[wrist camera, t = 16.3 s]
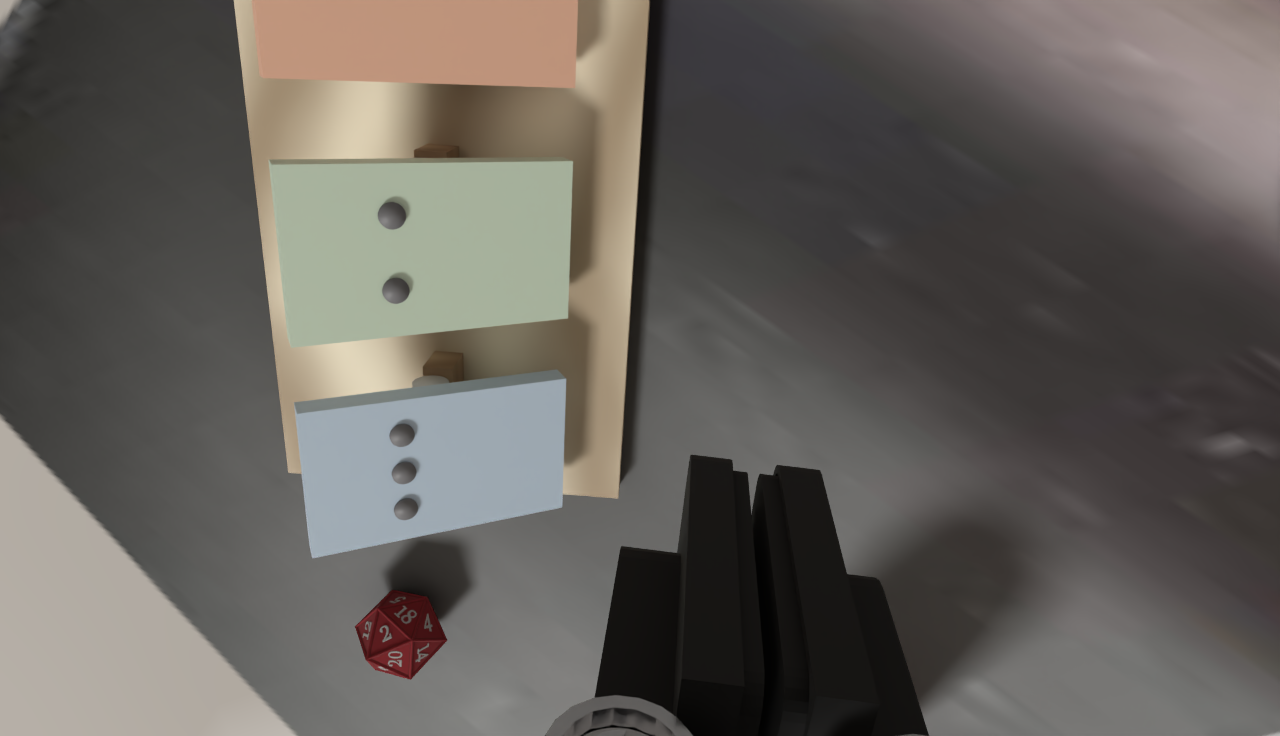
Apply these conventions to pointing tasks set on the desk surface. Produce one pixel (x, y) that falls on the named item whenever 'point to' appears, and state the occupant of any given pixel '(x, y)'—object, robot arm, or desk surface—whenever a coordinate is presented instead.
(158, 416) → the desk surface
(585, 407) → the board
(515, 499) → the tile
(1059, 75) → the desk surface
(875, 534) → the desk surface
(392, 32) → the tile
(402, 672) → the dice
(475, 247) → the tile
